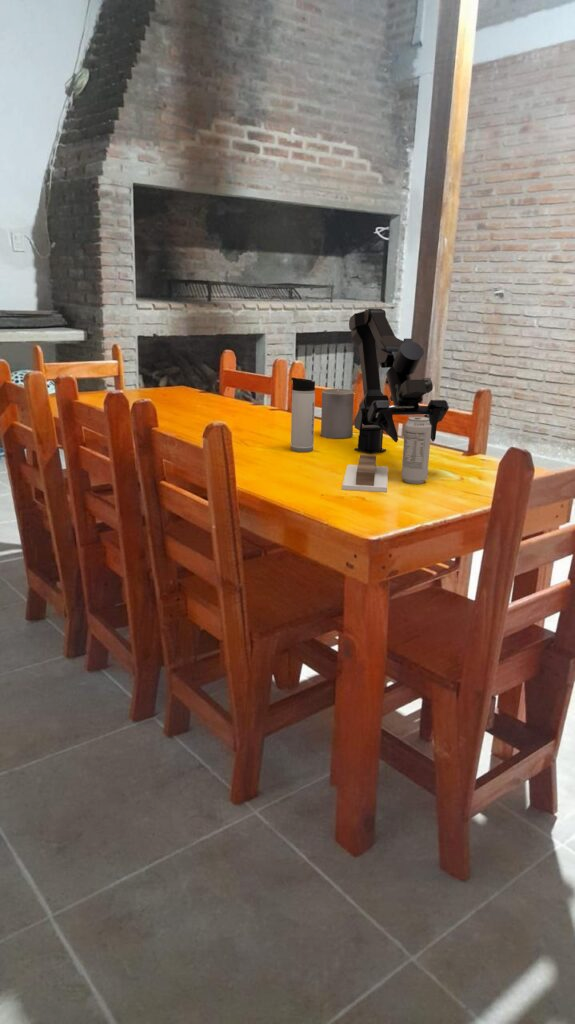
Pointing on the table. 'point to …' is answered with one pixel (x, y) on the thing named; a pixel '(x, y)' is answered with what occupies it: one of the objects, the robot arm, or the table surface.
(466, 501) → the table surface
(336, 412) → the pillar candle
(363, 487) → the ridge base plate
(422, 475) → the energy drink can
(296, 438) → the travel mug
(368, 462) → the walnut ridge
